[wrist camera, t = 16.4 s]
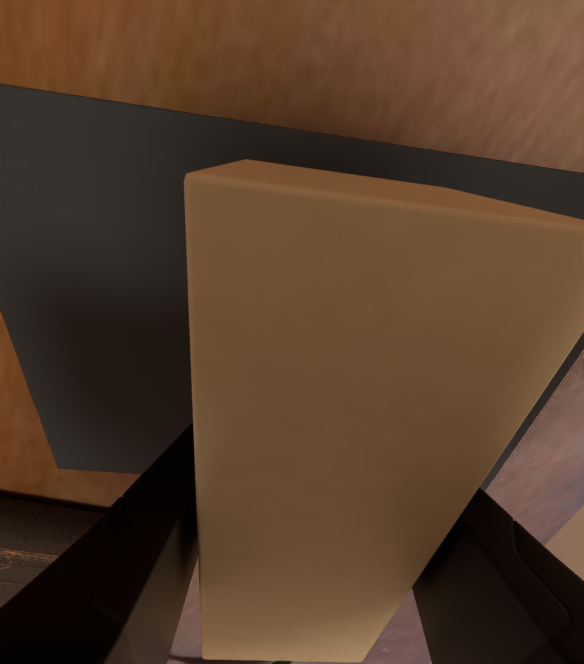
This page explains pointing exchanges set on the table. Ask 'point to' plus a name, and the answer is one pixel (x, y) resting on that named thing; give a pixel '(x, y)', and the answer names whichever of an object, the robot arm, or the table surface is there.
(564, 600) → the robot arm
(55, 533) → the brown leather hardcover
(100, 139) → the rubber mat
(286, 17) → the table surface
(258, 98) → the table surface
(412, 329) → the cream block
